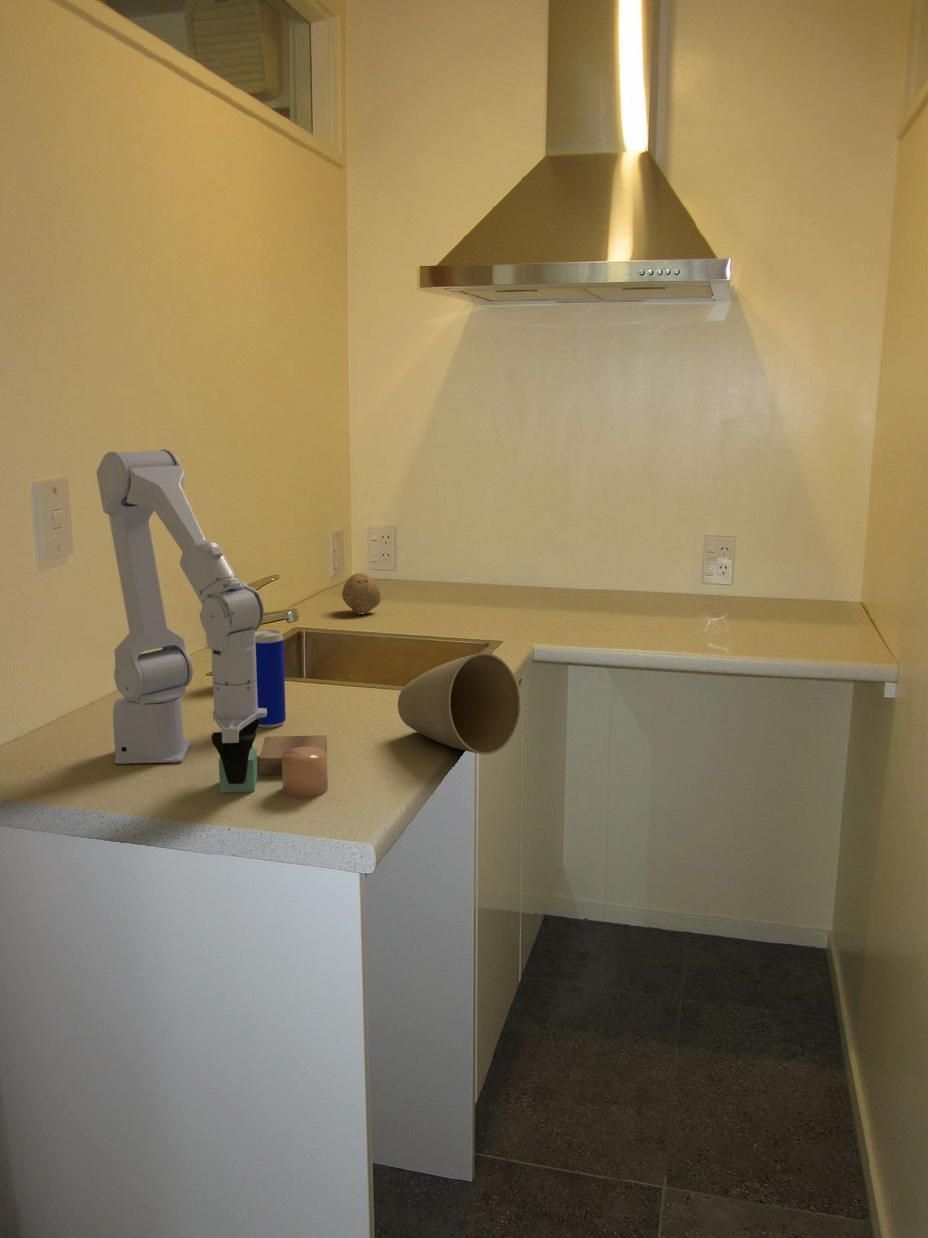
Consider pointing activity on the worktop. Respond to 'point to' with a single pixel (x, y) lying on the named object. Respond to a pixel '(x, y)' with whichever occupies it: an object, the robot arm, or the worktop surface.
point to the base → (280, 744)
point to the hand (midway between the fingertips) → (238, 775)
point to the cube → (250, 778)
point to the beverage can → (270, 677)
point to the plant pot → (464, 703)
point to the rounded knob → (304, 772)
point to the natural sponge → (361, 593)
